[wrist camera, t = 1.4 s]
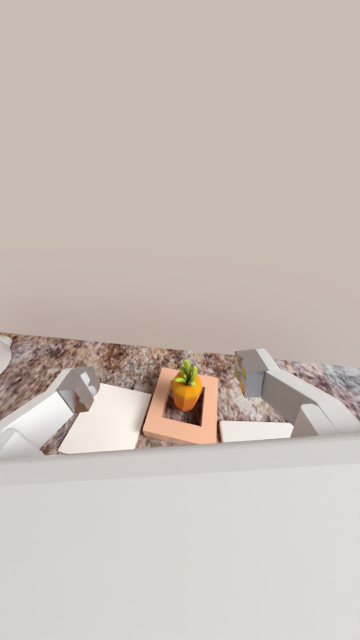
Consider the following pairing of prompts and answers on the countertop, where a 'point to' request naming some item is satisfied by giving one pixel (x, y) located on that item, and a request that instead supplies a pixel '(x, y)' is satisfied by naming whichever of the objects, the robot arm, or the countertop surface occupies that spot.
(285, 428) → the baseboard molding
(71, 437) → the plate
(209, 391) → the holder ring
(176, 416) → the countertop surface
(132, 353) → the countertop surface
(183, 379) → the carrot
